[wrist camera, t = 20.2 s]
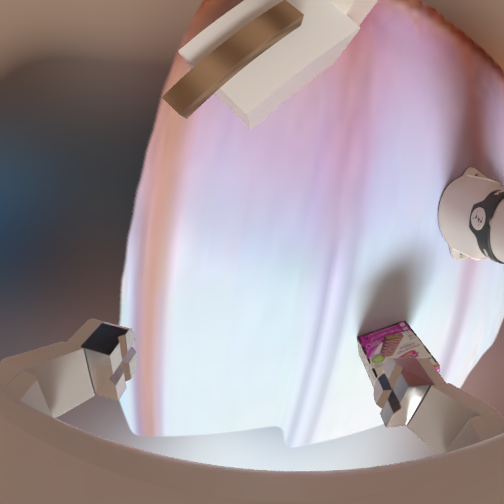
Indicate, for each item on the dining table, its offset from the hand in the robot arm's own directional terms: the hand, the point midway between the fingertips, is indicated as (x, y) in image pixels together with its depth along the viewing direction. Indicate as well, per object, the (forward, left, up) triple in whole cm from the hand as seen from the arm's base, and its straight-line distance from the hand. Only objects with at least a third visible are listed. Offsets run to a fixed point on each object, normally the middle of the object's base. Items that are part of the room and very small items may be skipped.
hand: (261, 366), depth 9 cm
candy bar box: (-28, +23, -41) cm, 55 cm away
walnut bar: (+5, -18, -26) cm, 32 cm away
